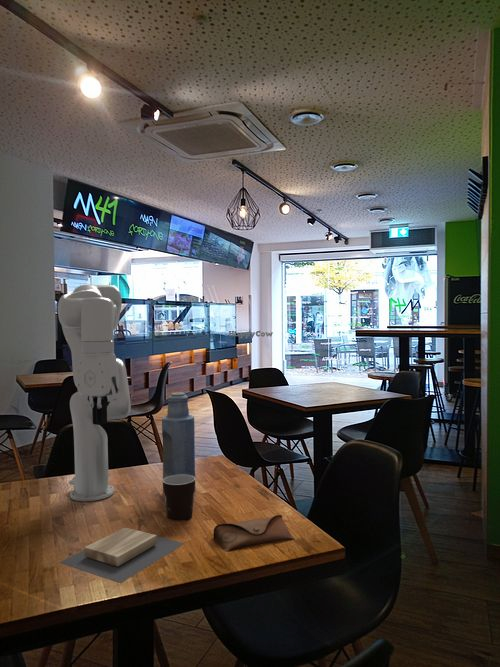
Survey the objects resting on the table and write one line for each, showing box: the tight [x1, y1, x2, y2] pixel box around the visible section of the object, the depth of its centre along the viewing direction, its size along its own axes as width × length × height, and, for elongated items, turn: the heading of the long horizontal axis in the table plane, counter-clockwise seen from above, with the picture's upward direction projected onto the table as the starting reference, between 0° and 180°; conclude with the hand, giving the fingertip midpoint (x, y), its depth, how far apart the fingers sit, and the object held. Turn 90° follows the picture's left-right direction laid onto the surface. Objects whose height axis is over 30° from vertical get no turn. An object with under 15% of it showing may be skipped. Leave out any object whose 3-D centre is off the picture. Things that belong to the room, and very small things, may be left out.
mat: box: [59, 535, 185, 584], centre depth 112 cm, size 18×20×1 cm
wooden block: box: [83, 527, 158, 566], centre depth 112 cm, size 2×12×10 cm
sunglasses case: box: [213, 514, 295, 553], centre depth 119 cm, size 18×7×7 cm
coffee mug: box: [161, 474, 196, 522], centre depth 134 cm, size 12×9×10 cm
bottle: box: [161, 391, 196, 494], centre depth 152 cm, size 10×10×30 cm
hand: (100, 423), depth 123 cm, fingers closed
